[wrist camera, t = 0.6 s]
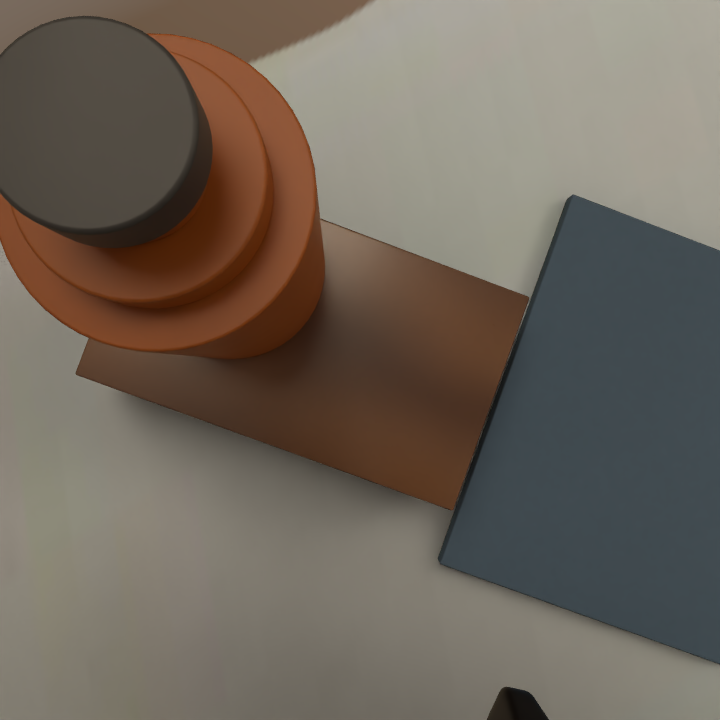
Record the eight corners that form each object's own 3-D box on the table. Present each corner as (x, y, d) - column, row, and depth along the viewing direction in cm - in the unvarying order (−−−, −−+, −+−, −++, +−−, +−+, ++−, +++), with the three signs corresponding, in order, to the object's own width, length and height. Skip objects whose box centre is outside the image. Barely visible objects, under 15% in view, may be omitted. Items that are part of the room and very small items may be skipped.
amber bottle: (287, 385, 19) (217, 409, 8) (111, 321, 19) (-213, 252, 8) (351, 213, 19) (371, -1, 8) (177, 148, 19) (-47, -163, 8)
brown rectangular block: (435, 489, 22) (453, 511, 19) (115, 373, 22) (74, 374, 19) (500, 308, 23) (530, 297, 19) (185, 190, 22) (157, 156, 19)
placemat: (721, 661, 23) (731, 668, 22) (437, 559, 22) (439, 564, 22) (844, 304, 23) (857, 302, 23) (566, 198, 23) (573, 193, 22)
